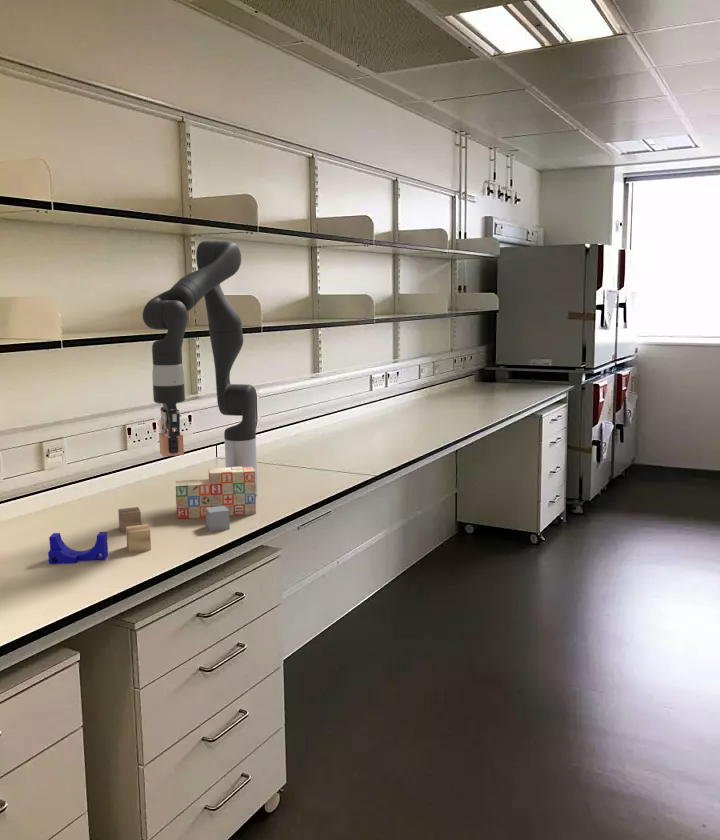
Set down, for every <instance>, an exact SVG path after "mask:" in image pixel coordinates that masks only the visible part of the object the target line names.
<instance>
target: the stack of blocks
mask: <svg viewBox="0 0 720 840" xmlns="http://www.w3.org/2000/svg"><path fill="white" fill-rule="evenodd" d="M256 498H257V495H256V482H255V470H254V468H253V467H231V468H230V467H228V468H226V467H214V468H213V467H212V468H211V467H210V468H208V478H207V479H206V478H205V479H203V478H202V479H188V480H186V479H185V480H175V504H176V519H196V518H197V519H198V518H206V508H208V507H217V506H225V507H226V508H227V509H228V510H229V516H242V515H243V514H246V515H257V505H256V504H257V502H256V500H257V499H256ZM243 516H244V515H243Z"/></svg>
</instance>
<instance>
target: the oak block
mask: <svg viewBox="0 0 720 840" xmlns="http://www.w3.org/2000/svg"><path fill="white" fill-rule="evenodd" d="M125 533H126V534H125V535H126V548H127V549H128V553H131V554H132V553H138V552H139V553H140V552H147V551H151V550H152V544H151V543H152V542H151V541H152V540H151V529H150V527H149V525H148V523H147V524H141V525H137V526H128V527H126V532H125Z"/></svg>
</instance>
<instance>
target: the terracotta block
mask: <svg viewBox="0 0 720 840" xmlns="http://www.w3.org/2000/svg"><path fill="white" fill-rule="evenodd" d="M167 435H168V433H163V432H160V433H158V436H159V437H158V439H159V453H160V455H161V456H162V457H174V456H175V457H177V456H183V455H185V450H184V434H183V433H182V432H180V436H179V437H178V453H169V443H168V437H167Z"/></svg>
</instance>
